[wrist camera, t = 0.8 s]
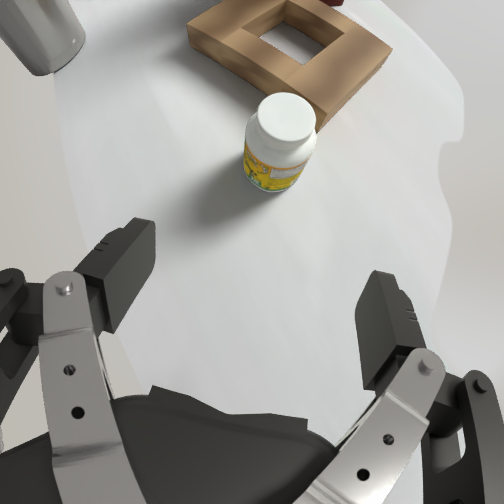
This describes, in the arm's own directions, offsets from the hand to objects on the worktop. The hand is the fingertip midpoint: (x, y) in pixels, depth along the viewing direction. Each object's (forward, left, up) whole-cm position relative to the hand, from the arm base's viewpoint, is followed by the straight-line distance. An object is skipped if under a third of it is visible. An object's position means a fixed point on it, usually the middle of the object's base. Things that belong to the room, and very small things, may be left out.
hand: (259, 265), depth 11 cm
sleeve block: (-13, +22, -17) cm, 31 cm away
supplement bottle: (-5, +9, -17) cm, 20 cm away
